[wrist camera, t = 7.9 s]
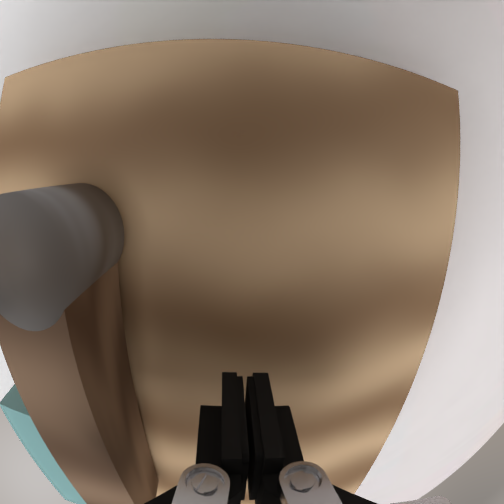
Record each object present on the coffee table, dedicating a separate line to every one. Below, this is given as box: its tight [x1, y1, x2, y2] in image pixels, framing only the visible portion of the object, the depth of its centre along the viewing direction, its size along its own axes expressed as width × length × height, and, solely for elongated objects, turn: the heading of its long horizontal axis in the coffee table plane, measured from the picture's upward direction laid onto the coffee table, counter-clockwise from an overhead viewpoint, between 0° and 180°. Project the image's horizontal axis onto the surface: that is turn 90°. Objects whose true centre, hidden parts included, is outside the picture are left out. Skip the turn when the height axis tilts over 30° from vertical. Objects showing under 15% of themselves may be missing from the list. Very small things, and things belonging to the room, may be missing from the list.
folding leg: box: [0, 183, 159, 504], centre depth 9 cm, size 17×4×4 cm, turn 176°
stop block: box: [0, 384, 87, 504], centre depth 10 cm, size 8×2×4 cm, turn 177°
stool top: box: [0, 39, 460, 504], centre depth 13 cm, size 32×20×2 cm, turn 177°
